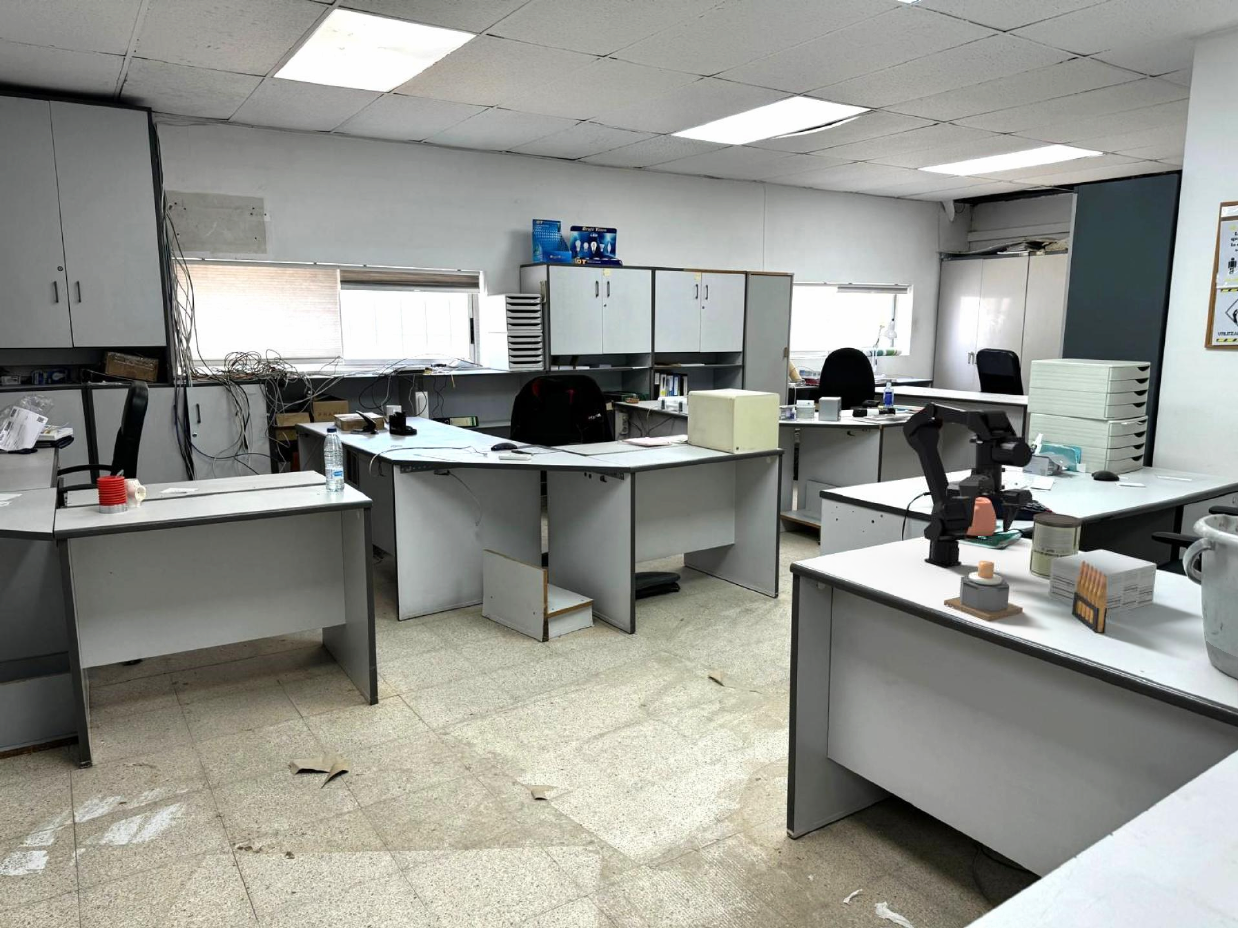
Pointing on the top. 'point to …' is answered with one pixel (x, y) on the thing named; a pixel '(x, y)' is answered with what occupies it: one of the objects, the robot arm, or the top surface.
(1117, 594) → the supplement box
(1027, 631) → the top surface
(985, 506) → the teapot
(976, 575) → the pump plunger
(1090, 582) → the ammunition clip
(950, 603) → the pump canister
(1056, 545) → the coffee can
